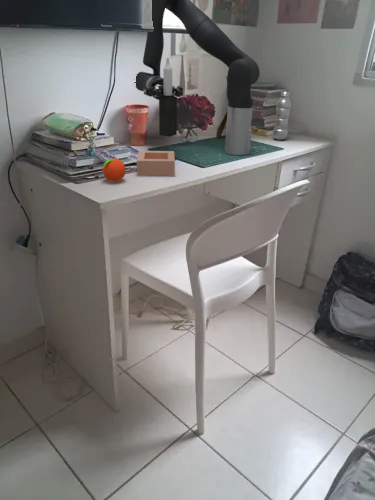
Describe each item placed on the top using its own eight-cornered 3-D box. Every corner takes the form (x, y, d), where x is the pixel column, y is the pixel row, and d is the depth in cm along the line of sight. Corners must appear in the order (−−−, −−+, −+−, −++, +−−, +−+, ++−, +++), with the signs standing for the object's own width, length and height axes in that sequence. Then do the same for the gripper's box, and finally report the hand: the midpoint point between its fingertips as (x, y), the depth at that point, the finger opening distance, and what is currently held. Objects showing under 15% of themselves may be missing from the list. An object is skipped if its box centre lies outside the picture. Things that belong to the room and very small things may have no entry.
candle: (169, 137, 140) (169, 58, 128) (158, 134, 143) (156, 57, 130) (177, 134, 144) (178, 57, 132) (166, 132, 146) (165, 56, 134)
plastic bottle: (288, 139, 179) (295, 91, 170) (283, 142, 174) (290, 93, 165) (275, 137, 182) (281, 90, 173) (269, 139, 177) (275, 91, 168)
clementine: (112, 186, 119) (110, 163, 116) (96, 181, 123) (94, 159, 119) (130, 180, 125) (129, 157, 121) (115, 175, 128) (113, 153, 125)
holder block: (173, 165, 140) (173, 151, 137) (174, 176, 129) (174, 161, 127) (139, 165, 139) (138, 150, 137) (137, 176, 128) (136, 160, 126)
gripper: (138, 76, 145) (148, 82, 131) (176, 76, 149) (190, 81, 135) (139, 98, 148) (149, 106, 134) (176, 97, 152) (189, 105, 138)
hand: (169, 94), depth 135 cm, fingers closed on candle, 6 cm apart
